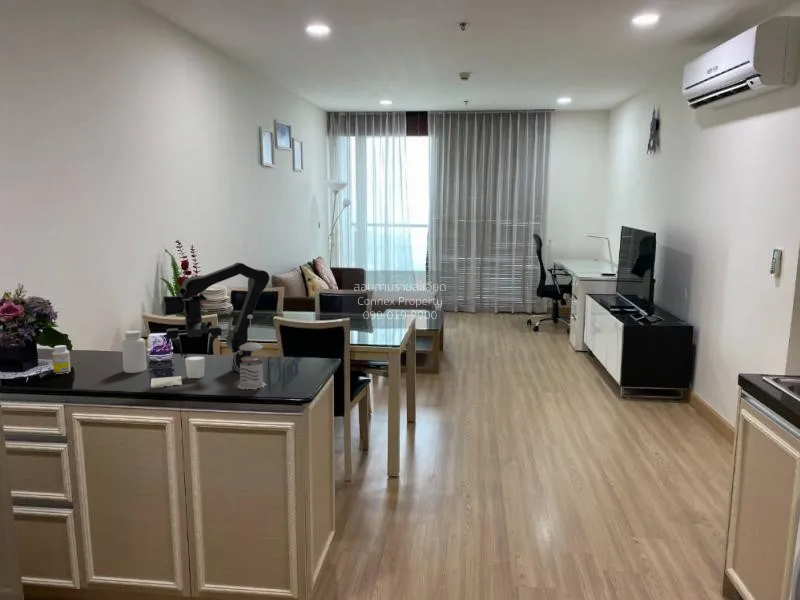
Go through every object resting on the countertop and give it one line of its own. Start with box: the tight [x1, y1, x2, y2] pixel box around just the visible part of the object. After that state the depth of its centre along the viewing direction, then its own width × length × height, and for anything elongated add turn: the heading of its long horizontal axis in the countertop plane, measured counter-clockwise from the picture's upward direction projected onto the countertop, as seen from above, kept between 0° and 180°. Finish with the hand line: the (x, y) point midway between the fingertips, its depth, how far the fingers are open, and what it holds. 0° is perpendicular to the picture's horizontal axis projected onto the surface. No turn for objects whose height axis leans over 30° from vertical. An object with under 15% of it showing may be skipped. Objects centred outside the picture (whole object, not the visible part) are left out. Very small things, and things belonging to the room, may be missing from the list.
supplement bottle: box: [51, 344, 71, 375], centre depth 223 cm, size 6×6×10 cm
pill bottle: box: [121, 330, 147, 374], centre depth 227 cm, size 8×8×15 cm
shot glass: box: [184, 355, 206, 379], centre depth 221 cm, size 7×7×7 cm
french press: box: [231, 315, 267, 391], centre depth 209 cm, size 10×12×25 cm
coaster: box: [150, 375, 183, 389], centre depth 213 cm, size 10×10×1 cm
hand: (195, 355), depth 220 cm, fingers open, 9 cm apart
